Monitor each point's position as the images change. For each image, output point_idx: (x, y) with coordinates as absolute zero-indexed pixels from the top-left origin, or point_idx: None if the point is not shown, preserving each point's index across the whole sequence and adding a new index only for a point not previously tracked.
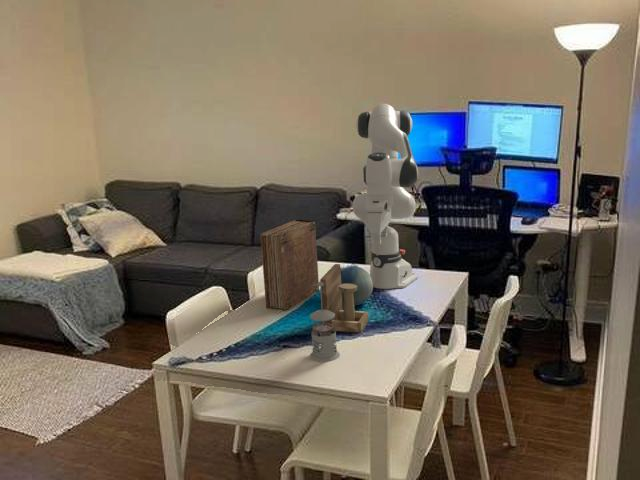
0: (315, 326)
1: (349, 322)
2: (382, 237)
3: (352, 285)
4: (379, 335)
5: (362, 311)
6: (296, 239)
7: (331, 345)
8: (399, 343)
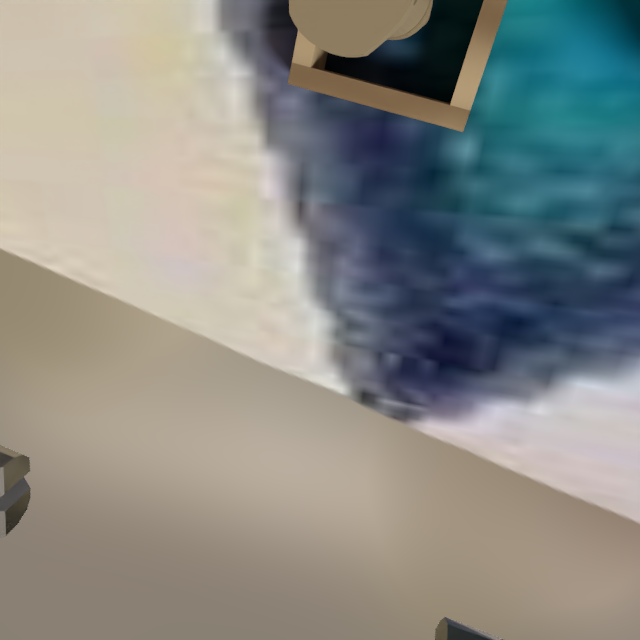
0: None
1: None
2: (440, 626)
3: (371, 6)
4: (265, 177)
5: (473, 92)
6: None
7: None
8: (184, 257)
